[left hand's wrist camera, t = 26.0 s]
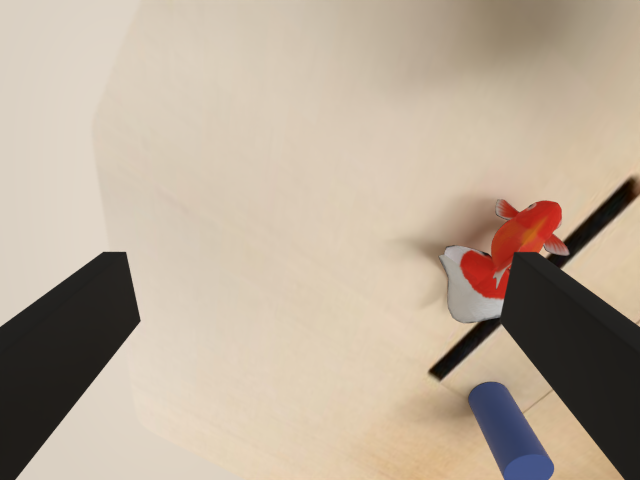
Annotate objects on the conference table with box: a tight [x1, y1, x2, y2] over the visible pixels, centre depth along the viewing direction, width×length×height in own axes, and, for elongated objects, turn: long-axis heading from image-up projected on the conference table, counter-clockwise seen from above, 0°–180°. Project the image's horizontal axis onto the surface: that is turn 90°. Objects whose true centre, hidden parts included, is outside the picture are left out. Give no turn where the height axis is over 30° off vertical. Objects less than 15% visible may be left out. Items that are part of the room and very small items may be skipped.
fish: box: [439, 200, 570, 323], centre depth 38 cm, size 11×16×10 cm
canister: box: [469, 382, 554, 480], centre depth 45 cm, size 5×5×10 cm
